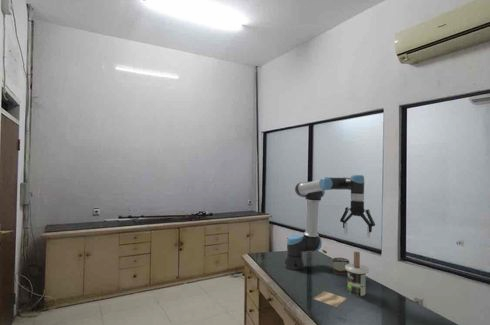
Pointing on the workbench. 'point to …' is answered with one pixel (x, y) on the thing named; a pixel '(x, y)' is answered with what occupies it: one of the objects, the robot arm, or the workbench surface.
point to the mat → (330, 298)
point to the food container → (340, 265)
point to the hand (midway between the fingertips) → (356, 235)
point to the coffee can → (356, 284)
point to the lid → (356, 265)
